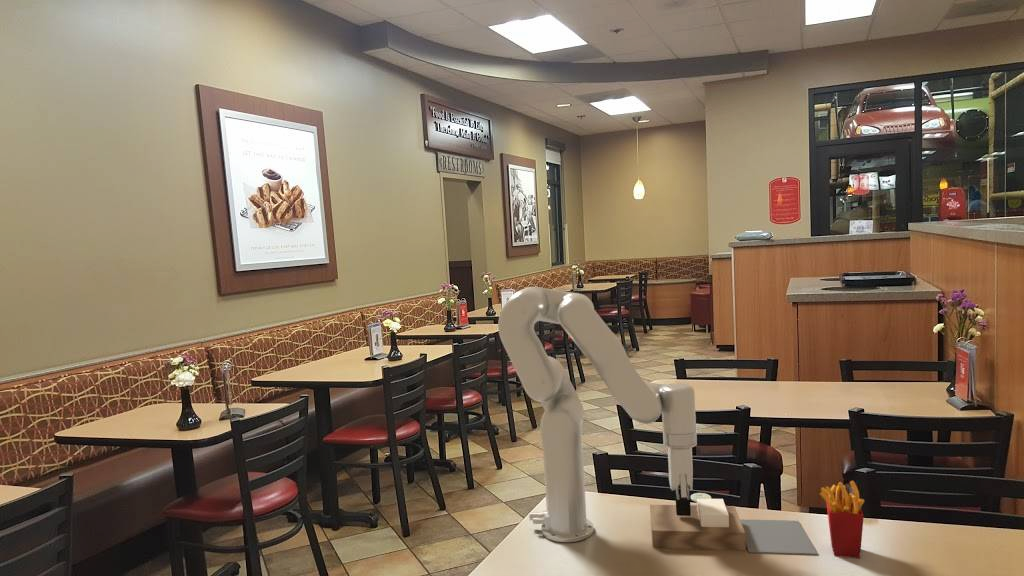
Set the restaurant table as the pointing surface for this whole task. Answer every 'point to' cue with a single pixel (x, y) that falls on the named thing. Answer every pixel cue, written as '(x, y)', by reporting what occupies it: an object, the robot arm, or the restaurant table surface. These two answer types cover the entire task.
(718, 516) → the cream rectangular block
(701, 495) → the sign
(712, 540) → the board
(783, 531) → the mat
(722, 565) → the restaurant table surface
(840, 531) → the french fries
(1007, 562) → the restaurant table surface
